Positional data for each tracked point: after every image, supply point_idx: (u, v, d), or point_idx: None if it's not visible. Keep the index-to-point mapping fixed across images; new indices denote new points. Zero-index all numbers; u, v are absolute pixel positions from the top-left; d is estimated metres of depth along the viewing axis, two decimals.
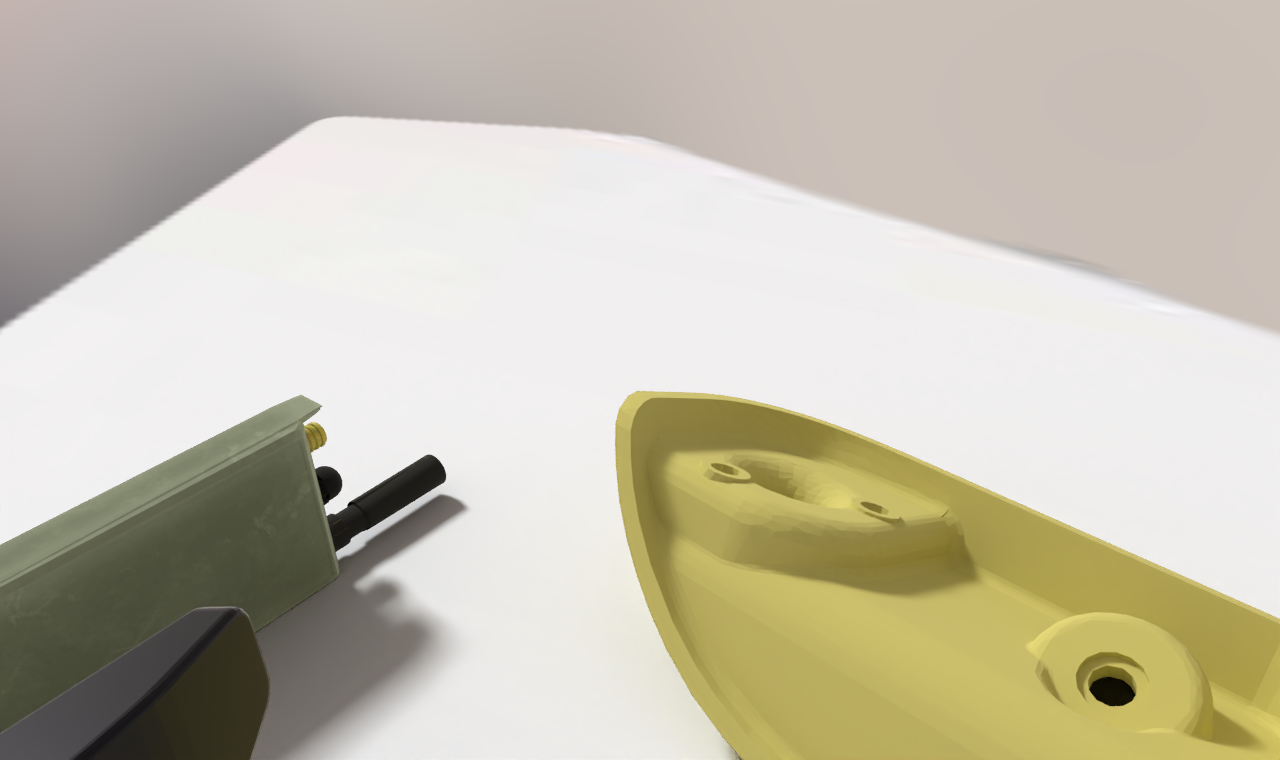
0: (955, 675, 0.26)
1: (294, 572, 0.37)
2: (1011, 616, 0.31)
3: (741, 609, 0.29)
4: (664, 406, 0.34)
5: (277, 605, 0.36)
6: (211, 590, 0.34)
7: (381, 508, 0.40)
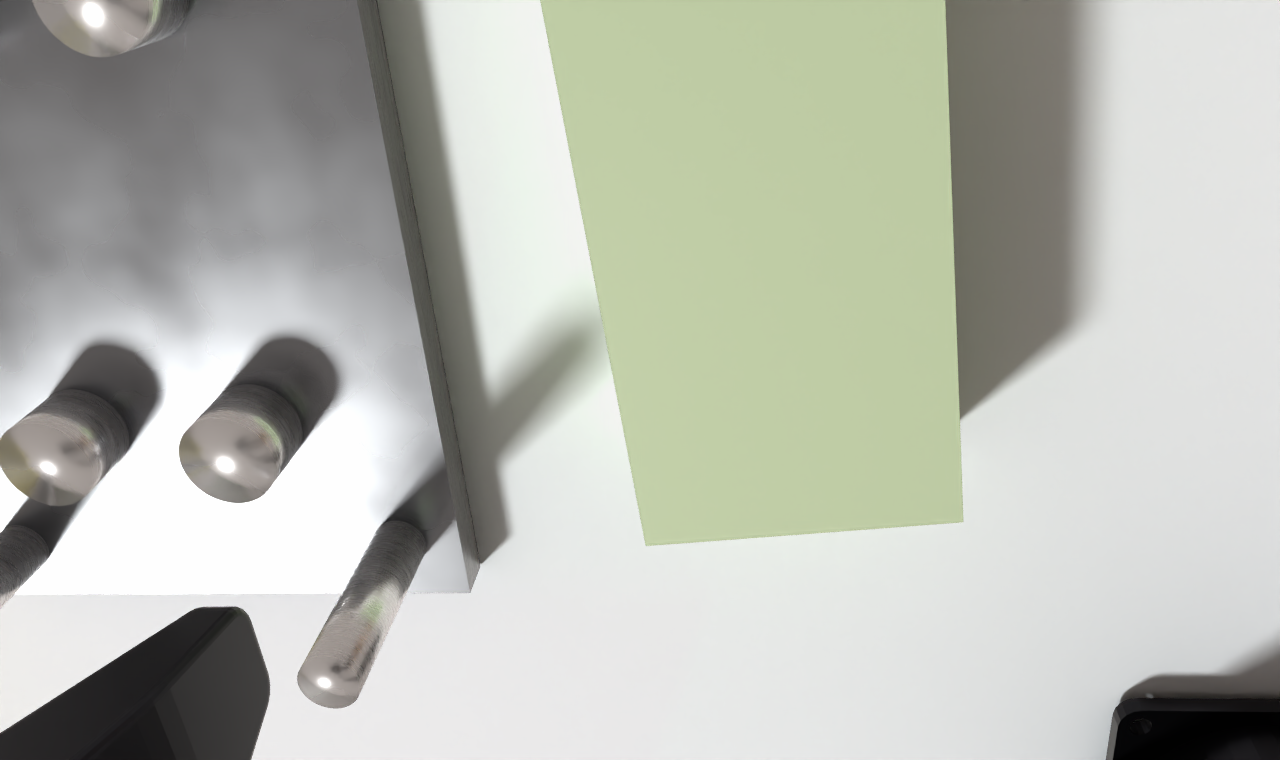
0: None
1: None
2: None
3: None
4: None
5: None
6: None
7: None
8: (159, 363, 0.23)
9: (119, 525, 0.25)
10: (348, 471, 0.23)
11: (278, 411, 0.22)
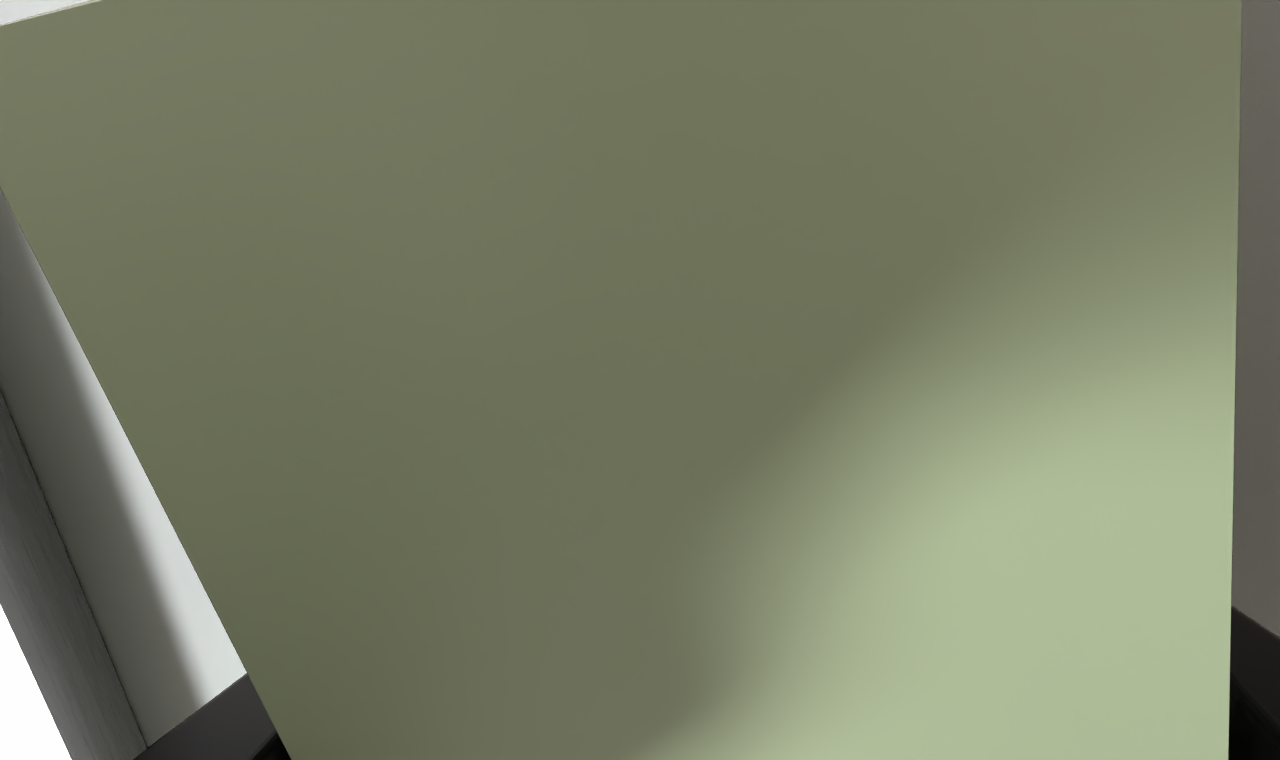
0: None
1: None
2: None
3: None
4: None
5: None
6: None
7: None
8: None
9: None
10: None
11: None
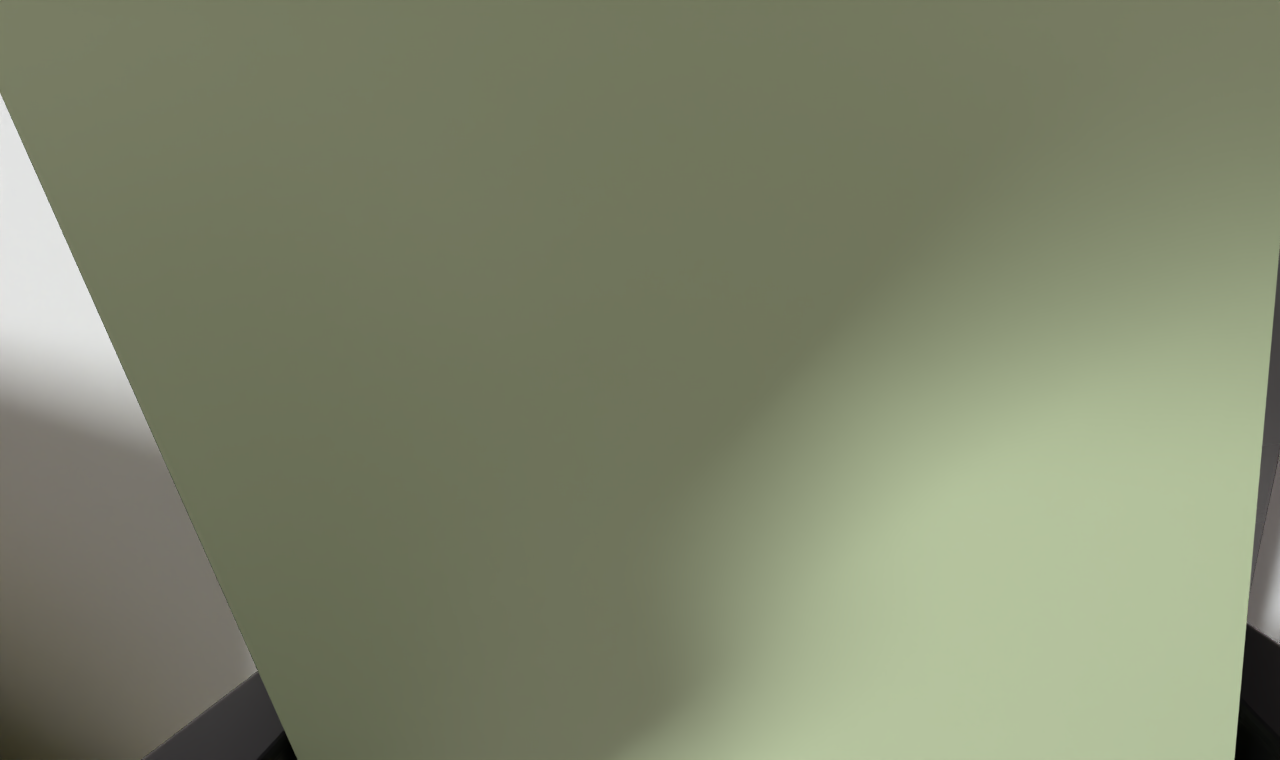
0: None
1: None
2: None
3: None
4: None
5: None
6: None
7: None
8: None
9: None
10: None
11: None
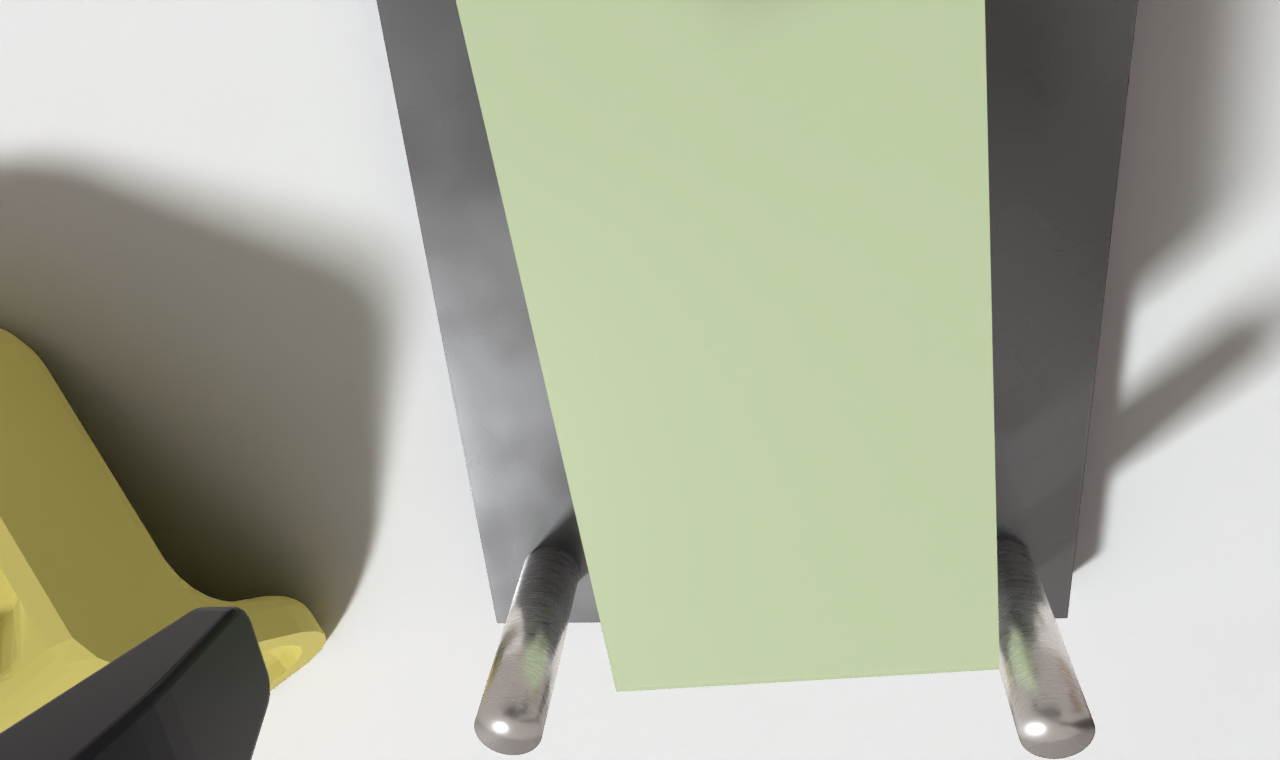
0: None
1: None
2: None
3: None
4: None
5: None
6: None
7: None
8: None
9: None
10: None
11: None
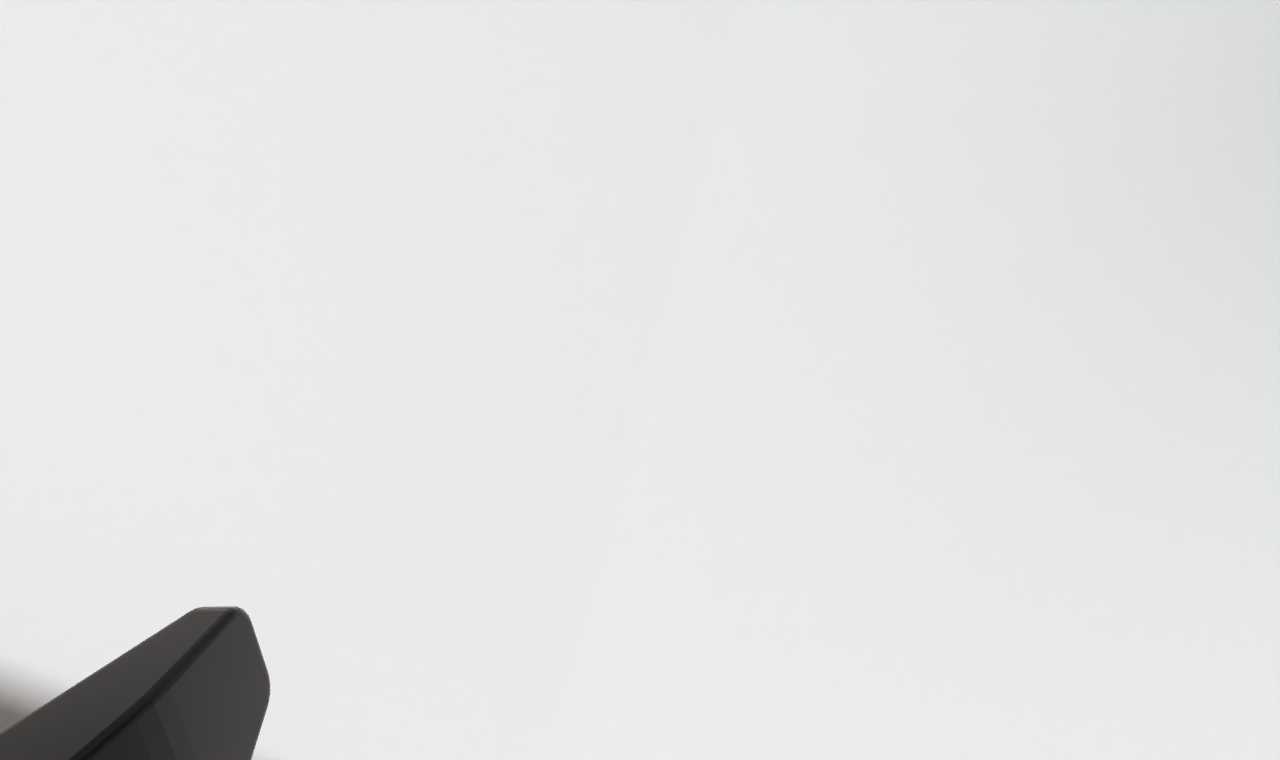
0: None
1: None
2: None
3: None
4: None
5: None
6: None
7: None
8: None
9: None
10: None
11: None
